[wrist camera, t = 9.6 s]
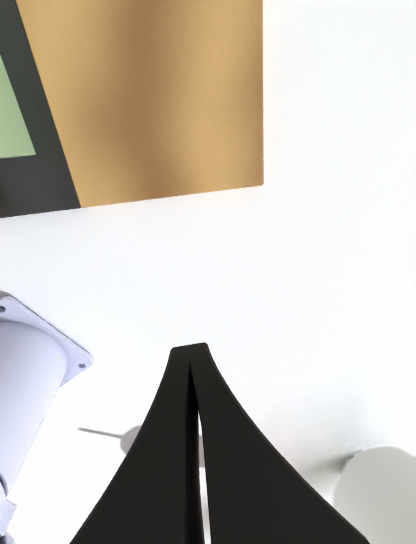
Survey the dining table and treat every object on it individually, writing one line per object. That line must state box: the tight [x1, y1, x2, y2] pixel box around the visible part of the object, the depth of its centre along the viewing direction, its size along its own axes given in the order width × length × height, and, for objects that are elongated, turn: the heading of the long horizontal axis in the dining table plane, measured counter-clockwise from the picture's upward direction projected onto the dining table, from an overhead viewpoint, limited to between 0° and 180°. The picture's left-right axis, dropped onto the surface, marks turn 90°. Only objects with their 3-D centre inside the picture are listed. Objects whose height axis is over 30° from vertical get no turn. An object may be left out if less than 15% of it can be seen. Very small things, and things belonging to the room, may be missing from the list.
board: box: [0, 0, 264, 218], centre depth 13 cm, size 20×12×1 cm, turn 96°
